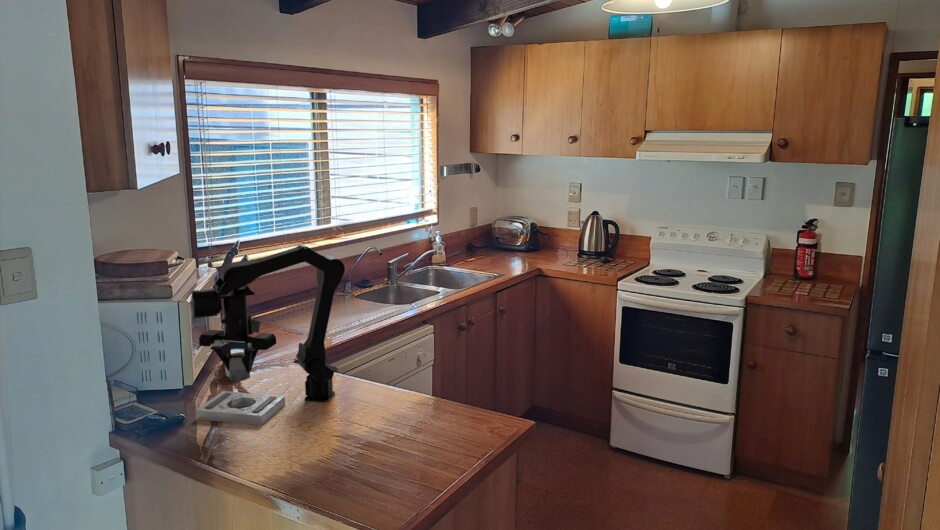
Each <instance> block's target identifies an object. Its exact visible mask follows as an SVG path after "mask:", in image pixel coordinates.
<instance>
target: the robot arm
mask: <svg viewBox="0 0 940 530" xmlns="http://www.w3.org/2000/svg"><path fill="white" fill-rule="evenodd" d="M302 263H306V264H308V265H311V266H312V267H314V268H316V282H317V290H316V296H315V300H314V305H313V310H312V315H311V320H310V326H309V330H308V336H307V339H306V340H305V342H304V343H303V342H299V343H298V351H297V353H296V355H295V357H296V358H297V362H298V364H299V367H301V368H302V369H303V371H305V373H306V374H307V375H306V379H305V381H304V386H305V387H304V389H305V390H304V391H305V397H304V400H305V401H311V402H313V401H314V402H325V403H326V402H328V401H329V400H330V399H331V398H332V397H333V396H335V394H336V391H333V388H334V387H333V377H334V374H335V371H334V370H333V369H332V367H330V366H329V365H328V364H327V363H326V362H327V361H326V360H327V359H326V358H327V357H326V355H327V354H326V346H325V341H326V335H327V330H328V326H329V325H328V324H329V321H330V315H331V310H332V306H333V300H334V296H335V291H336V290H337V289H338V287H339V286H340V284H341V282H342V280H343V277H344V274H345V270H346V267H345V264H344V263H343V261H342V260H341V259H339V258H337V257H335V256H332V255H329V254H328V255H322V254H321V253H318V252H317V251H314V250H313V249H311V248H310V247H309V246H306V245H304V244H300V245H298V246H296V247H293V248H290V249H287V250H284V251H279V252H277V253H274V254H270V255H268V256H264V257H262V258H258V259H255V260H245V261H244V260H242V261H240V260H239V261H235V262H233V261H232V262H229V263H228V262H227V263H225V264H223V266H222V267H221V269H220V271H219V277H218V278H217V280H216V282H215V283H214V284H213V285H212V289H205V290H198V289H196V290H195V289H194V290H191V298H190V300H191V301H190V311H191V316H192V318H193V320H194V319H201V318H209V317H218V314H221V312H222V310H223V318H221V324H224V331H223V330H221V329H219V330H218V329H210V330H207V331H206V332H205V331H204V332H203V333H202V334H200V335H199V337H198V346H200V347H210V350H212V351H214V352H215V353H216V355H217V356H218V358H219V359H220V361H221V362H222V363H223V365H224V368H225V367H226V368H227V370H228V371H229V359H228V356H229V355H230V354H231V346H232V343H242V344H248V348H247V349H245V350H244V356H245V363H246V369H247V372H248V373H250V374H251V372H252V369H253V366H254V362H255V359H256V356H257V354H258V352H259V351H266V350H269V349H271V348H272V347H273V346H275V345H277V337H276V336H275V334H274V333H271V332H260V327H261V320H256V319H252V315H251V314H249V313H248V311H249V310H248V298H247V296H254V295H255V294H256V292H255V291H254V290H253V289H251V288H250V287H249V286H248V285H250V284H251V283H253V282H254V281H256V280H257V279H258V278H260V277H262V276H265V275H268V274H271V273H274V272H277V271H280V270H283V269H287V268H289V267H292V266H295V265H299V264H302ZM254 333H256V334H257V335H255V336H251V335H253V334H254ZM211 345H212V346H211Z"/></svg>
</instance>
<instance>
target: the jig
mask: <svg viewBox="0 0 940 530" xmlns="http://www.w3.org/2000/svg"><path fill="white" fill-rule="evenodd" d="M284 406H286V396H285V395H276V394H273V395H272V394H262V393H250V392H241V391H240V392H239V391H237V392H236V391H226V390H222V391H221V392H220V393H218V394H216V396H214V397H212V398H211V399H210V400H208V401H207V402H205V403H204V404H203V405H201V406H200V407H198V408H196V409H195V419H196V420H199V421H200V420H201V421H210V422H211V421H212V422H221V423H222V422H223V423H234V424H243V425H244V424H245V425H255V426H263V425H264V424H265V423H266V422H267V421H268V419H269V420H270V419H271V418H272V417H273V416H274V415H275V414H277V412H280V410H281V409H283V408H284Z"/></svg>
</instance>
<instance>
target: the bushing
mask: <svg viewBox="0 0 940 530" xmlns="http://www.w3.org/2000/svg"><path fill="white" fill-rule="evenodd" d="M228 359H229V373H230V377H229V380H230V381H233V382H242V381H246V380H248V379H250V378H251V372H250V373H248V372H247V369H246V363H245V356H244V352H238V353H233V354H230V355H229V356H228Z"/></svg>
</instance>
